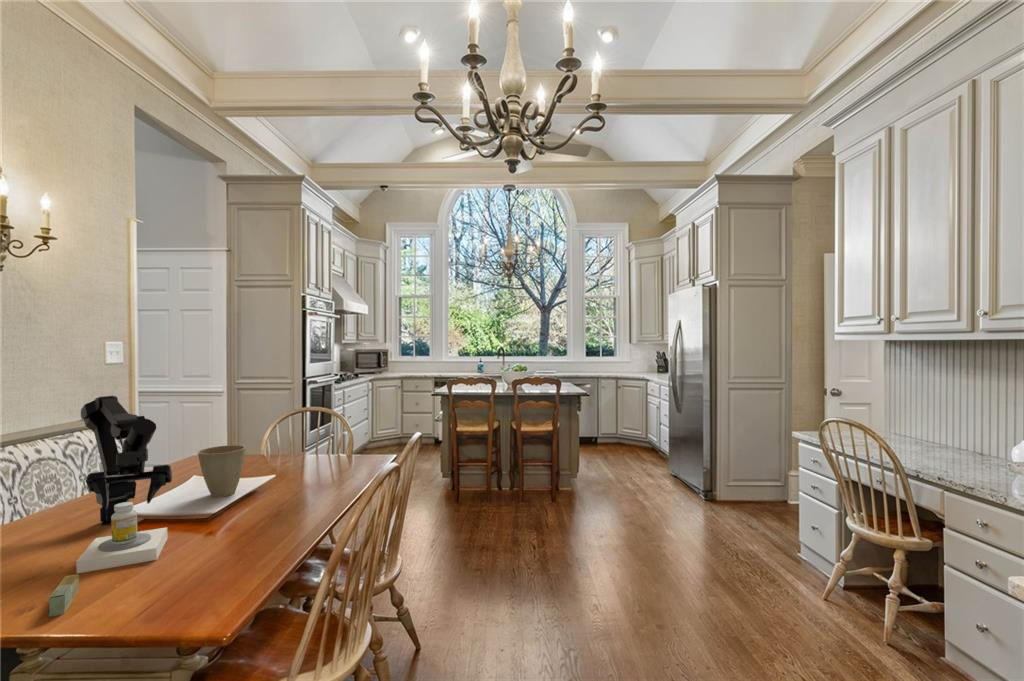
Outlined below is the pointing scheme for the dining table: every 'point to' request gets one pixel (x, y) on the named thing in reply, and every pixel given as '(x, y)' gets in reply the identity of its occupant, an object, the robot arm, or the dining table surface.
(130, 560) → the plinth
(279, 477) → the dining table surface
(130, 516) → the supplement bottle
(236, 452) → the plant pot
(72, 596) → the medication box
